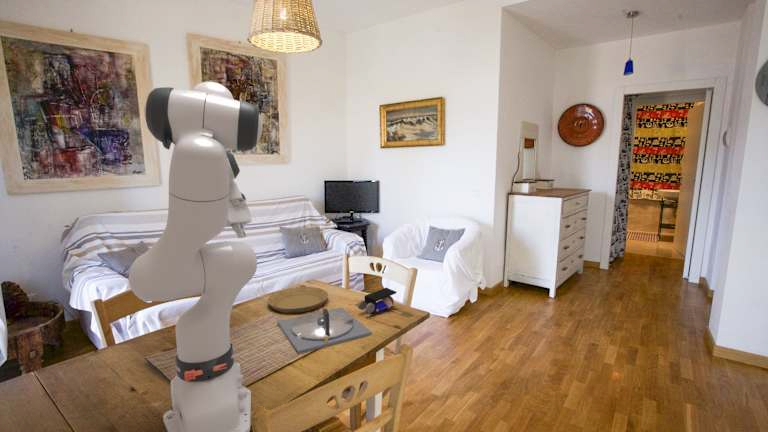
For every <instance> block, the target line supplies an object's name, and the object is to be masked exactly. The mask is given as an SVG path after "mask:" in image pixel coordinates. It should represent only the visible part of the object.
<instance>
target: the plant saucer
mask: <svg viewBox="0 0 768 432" xmlns="http://www.w3.org/2000/svg"><path fill="white" fill-rule="evenodd" d="M328 298H329V293H328V291H327V290H325V289H322V288H320V287H316V286H315V287H314V286H313V287H312V286H296V287H291V288H285V289H282V290H279V291H277V292H275V293H273V294H271V295H270V296H269V297H267V303H268V304H269V306H270V307H271V308H272V309H273V310H275V311H277V312H280V313H285V314H287V313H288V314H300V313H305V312H310V311H314V310H316V309H318V308H320V307H321V306H322V305H324V304H325V302H326V301H327V300H328Z"/></svg>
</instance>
